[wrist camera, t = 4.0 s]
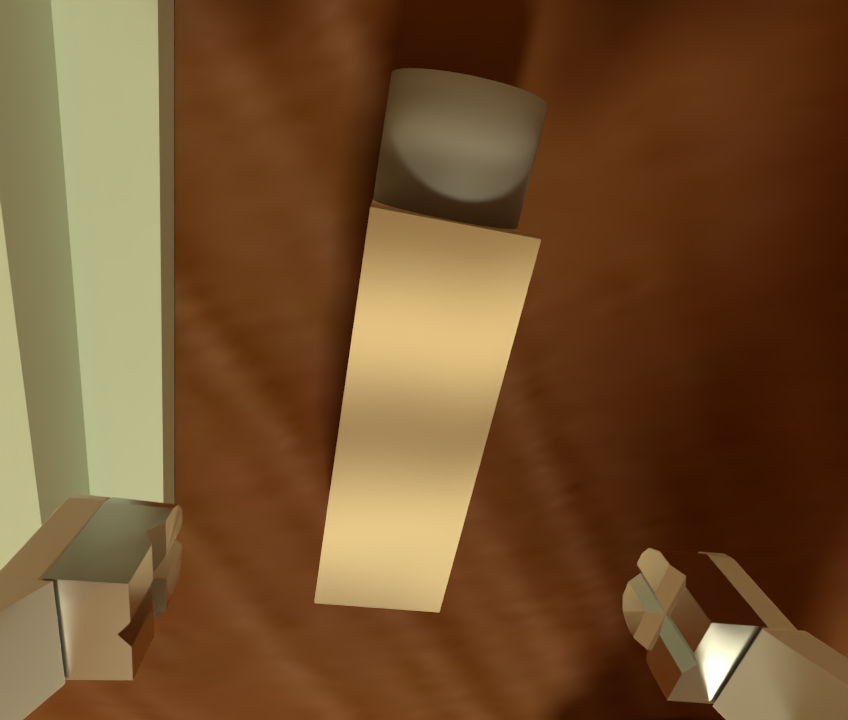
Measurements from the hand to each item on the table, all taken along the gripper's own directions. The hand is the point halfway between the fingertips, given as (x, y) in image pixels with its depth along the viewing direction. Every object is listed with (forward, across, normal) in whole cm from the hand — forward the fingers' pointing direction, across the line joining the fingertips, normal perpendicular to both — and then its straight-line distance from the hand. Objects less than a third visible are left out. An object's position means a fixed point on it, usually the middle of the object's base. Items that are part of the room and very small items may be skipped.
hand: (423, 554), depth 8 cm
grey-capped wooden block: (+10, 0, -1) cm, 10 cm away
